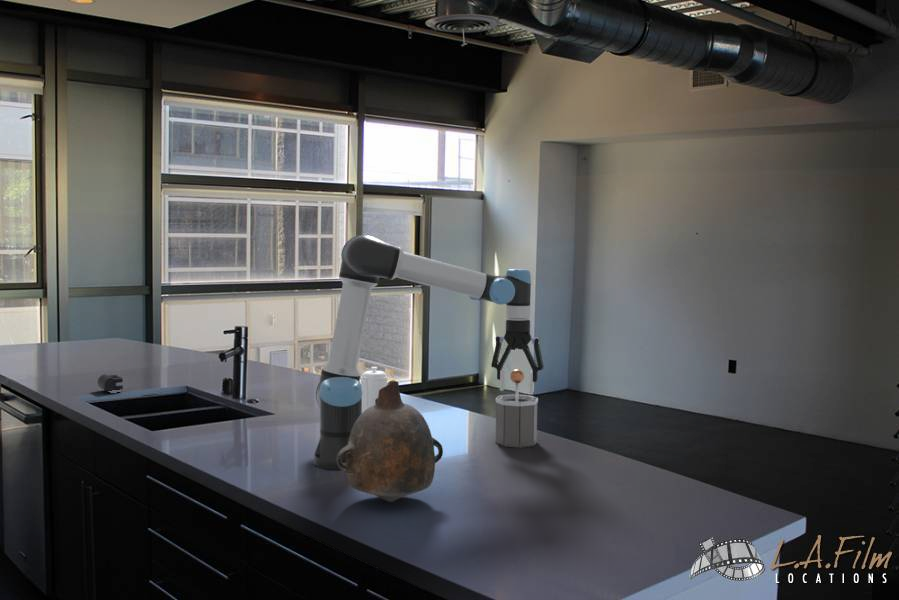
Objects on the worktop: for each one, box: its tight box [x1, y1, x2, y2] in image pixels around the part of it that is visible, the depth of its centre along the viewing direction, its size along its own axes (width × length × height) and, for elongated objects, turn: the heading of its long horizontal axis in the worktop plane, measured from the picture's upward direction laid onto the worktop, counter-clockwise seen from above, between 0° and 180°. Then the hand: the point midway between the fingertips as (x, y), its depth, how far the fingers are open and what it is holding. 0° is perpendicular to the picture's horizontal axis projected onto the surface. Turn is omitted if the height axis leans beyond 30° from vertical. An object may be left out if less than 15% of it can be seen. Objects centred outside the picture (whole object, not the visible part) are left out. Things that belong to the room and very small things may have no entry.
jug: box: [336, 379, 444, 503], centre depth 198 cm, size 24×21×30 cm
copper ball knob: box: [509, 368, 525, 401], centre depth 257 cm, size 8×8×21 cm
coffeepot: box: [360, 366, 389, 413], centre depth 286 cm, size 11×25×19 cm, turn 168°
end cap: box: [97, 374, 124, 392], centre depth 335 cm, size 10×7×7 cm
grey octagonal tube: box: [495, 393, 539, 449], centre depth 259 cm, size 16×12×14 cm
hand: (516, 391), depth 257 cm, fingers open, 9 cm apart
